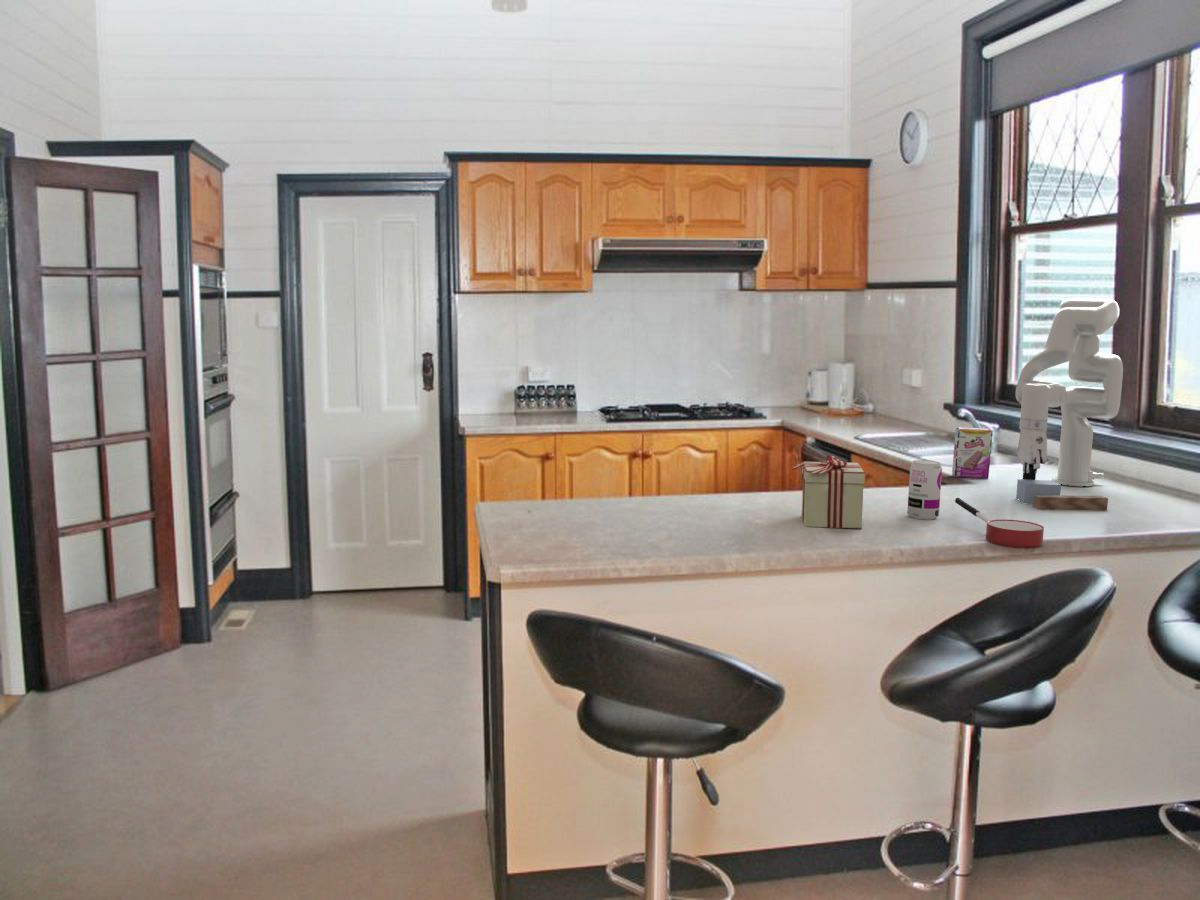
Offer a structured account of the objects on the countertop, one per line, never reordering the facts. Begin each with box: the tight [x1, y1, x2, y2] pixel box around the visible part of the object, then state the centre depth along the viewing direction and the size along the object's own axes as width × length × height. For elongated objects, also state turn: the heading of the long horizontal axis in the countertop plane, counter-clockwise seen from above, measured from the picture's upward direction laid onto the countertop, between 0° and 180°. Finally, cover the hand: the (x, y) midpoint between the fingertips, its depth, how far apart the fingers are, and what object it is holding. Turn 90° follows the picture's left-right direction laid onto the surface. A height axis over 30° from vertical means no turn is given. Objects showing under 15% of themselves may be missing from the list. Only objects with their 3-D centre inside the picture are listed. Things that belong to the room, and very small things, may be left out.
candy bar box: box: [951, 426, 994, 480], centre depth 362 cm, size 11×5×16 cm, turn 84°
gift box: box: [790, 454, 866, 529], centre depth 283 cm, size 17×18×17 cm
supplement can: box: [906, 459, 943, 521], centre depth 294 cm, size 8×8×15 cm
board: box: [1032, 494, 1109, 511], centre depth 312 cm, size 20×4×4 cm, turn 93°
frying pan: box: [954, 497, 1045, 549], centre depth 275 cm, size 32×13×6 cm, turn 20°
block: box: [1015, 478, 1062, 505], centre depth 321 cm, size 10×8×6 cm
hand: (1028, 485), depth 327 cm, fingers closed
